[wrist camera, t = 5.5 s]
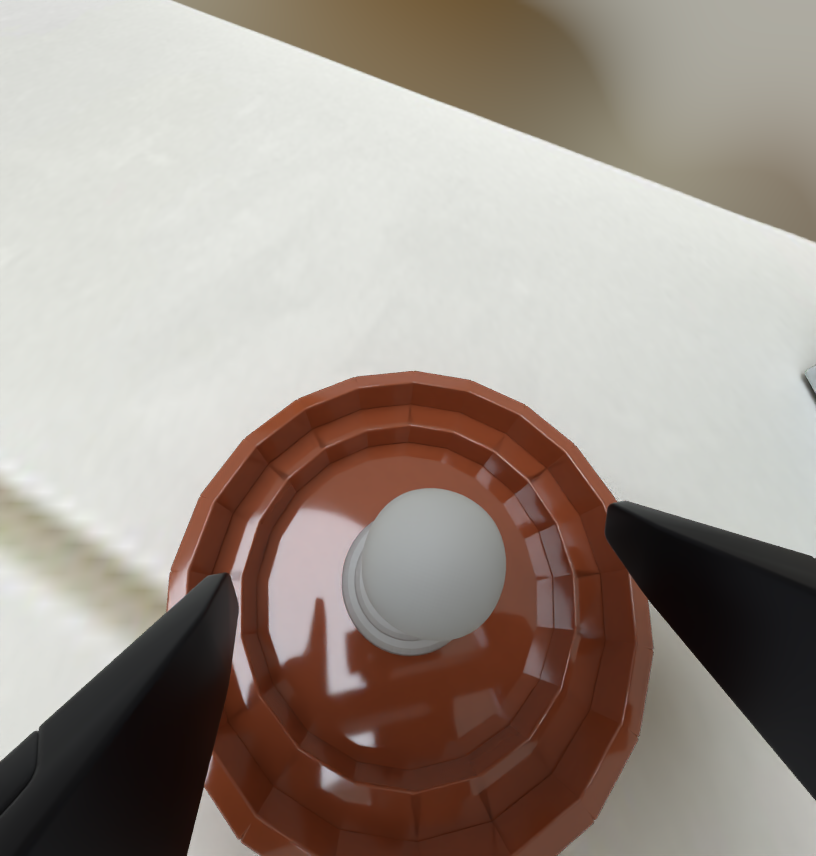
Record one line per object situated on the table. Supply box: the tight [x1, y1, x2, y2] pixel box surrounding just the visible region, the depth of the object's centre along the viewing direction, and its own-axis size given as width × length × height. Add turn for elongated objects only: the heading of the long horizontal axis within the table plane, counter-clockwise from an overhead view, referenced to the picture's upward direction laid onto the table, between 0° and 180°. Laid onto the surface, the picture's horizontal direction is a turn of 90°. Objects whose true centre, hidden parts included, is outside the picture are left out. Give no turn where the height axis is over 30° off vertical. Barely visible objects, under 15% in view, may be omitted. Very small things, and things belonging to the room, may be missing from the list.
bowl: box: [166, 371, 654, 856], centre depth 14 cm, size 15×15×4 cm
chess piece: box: [342, 488, 506, 656], centre depth 11 cm, size 5×5×9 cm
